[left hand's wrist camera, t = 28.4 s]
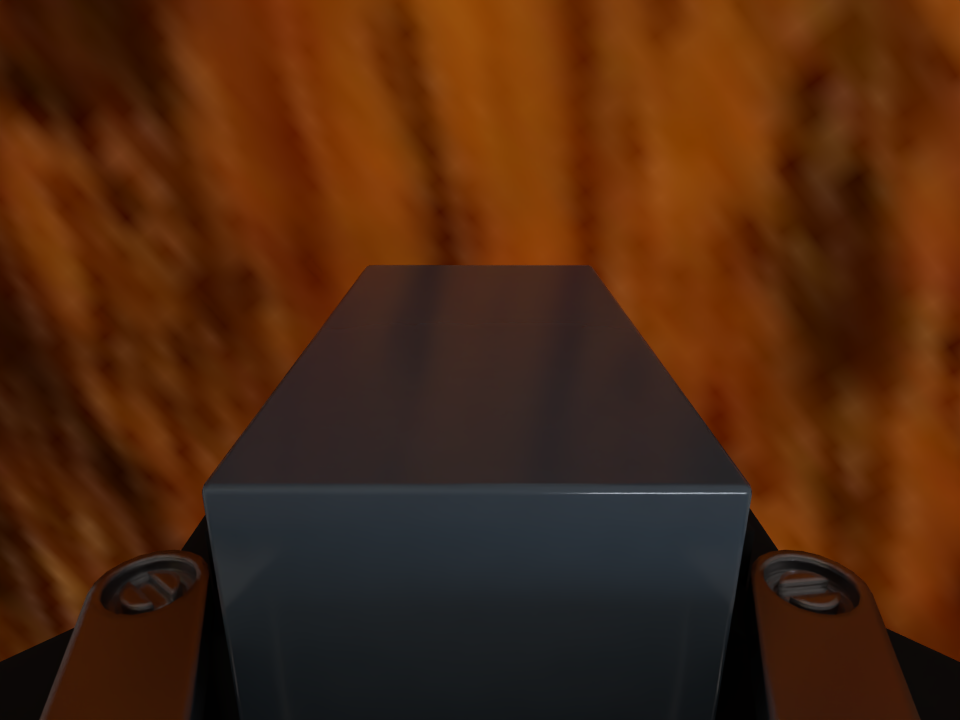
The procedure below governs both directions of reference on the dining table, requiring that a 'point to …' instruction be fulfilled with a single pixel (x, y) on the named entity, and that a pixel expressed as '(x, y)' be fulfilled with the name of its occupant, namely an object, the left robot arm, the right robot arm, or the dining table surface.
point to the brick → (477, 513)
